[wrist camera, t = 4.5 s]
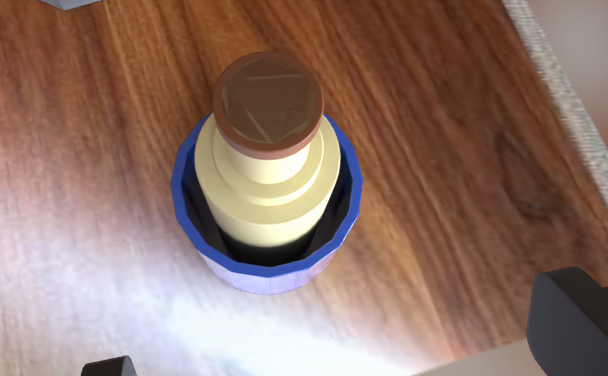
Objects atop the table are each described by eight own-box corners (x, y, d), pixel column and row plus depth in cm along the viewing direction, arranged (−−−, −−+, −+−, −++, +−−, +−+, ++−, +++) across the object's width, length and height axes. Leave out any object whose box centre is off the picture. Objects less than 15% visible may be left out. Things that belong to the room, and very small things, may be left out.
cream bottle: (309, 275, 32) (348, 203, 16) (208, 259, 31) (154, 172, 16) (323, 180, 33) (370, 35, 18) (228, 164, 33) (195, 5, 18)
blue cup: (329, 305, 32) (349, 291, 24) (179, 281, 32) (151, 259, 24) (348, 164, 34) (371, 111, 27) (210, 142, 34) (193, 82, 27)
